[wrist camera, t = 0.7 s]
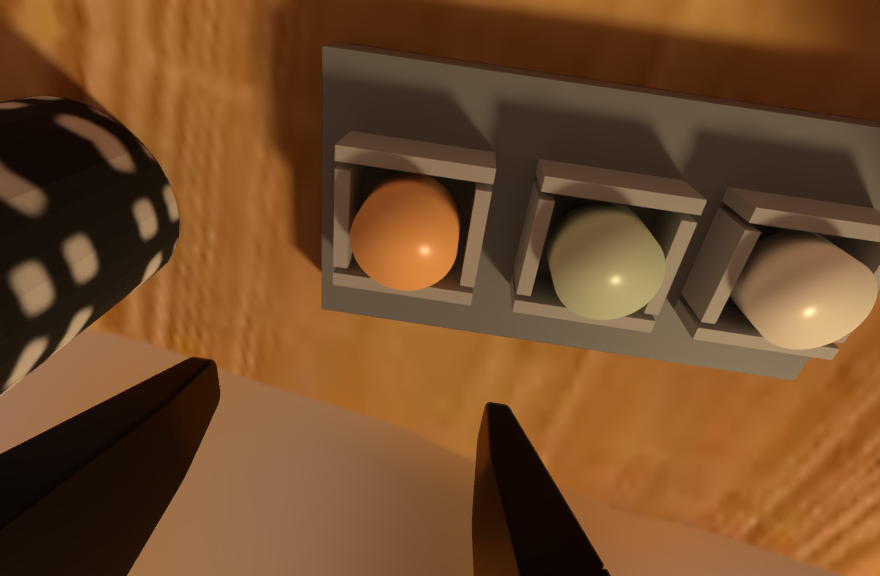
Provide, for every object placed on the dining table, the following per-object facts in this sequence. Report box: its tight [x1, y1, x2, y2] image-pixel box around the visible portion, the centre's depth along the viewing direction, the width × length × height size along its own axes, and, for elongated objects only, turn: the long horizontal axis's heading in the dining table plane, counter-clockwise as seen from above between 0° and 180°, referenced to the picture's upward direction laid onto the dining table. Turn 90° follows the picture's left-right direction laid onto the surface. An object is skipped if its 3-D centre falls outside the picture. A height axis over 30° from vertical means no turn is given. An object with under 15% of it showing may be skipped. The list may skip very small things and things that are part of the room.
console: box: [322, 42, 880, 381], centre depth 18 cm, size 20×10×4 cm, turn 83°
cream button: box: [730, 230, 878, 350], centre depth 16 cm, size 3×3×2 cm
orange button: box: [350, 172, 461, 291], centre depth 16 cm, size 3×3×2 cm
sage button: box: [546, 201, 666, 320], centre depth 16 cm, size 3×3×2 cm
